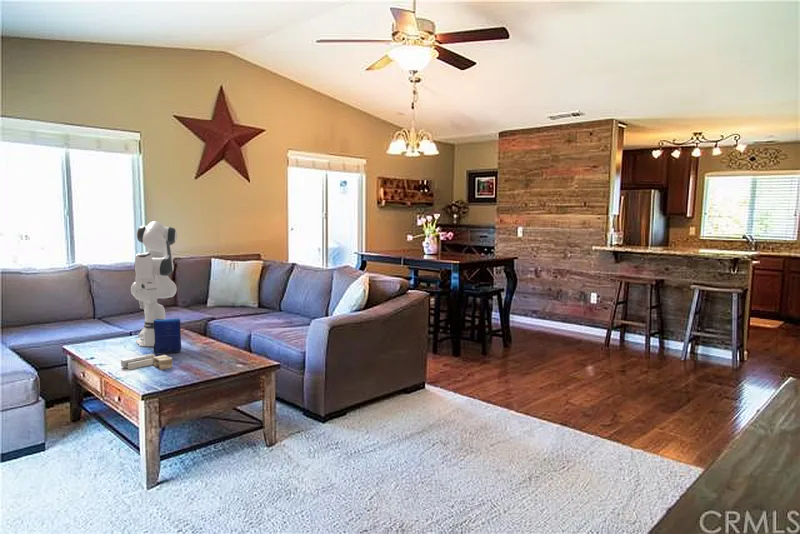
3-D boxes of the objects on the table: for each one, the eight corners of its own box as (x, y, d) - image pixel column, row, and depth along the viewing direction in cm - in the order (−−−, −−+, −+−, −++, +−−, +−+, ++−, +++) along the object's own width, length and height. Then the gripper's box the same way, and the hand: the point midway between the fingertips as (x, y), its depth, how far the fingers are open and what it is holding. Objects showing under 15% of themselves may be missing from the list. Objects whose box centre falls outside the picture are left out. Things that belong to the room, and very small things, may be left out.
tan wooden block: (153, 366, 274) (153, 357, 274) (165, 363, 279) (164, 354, 278) (160, 369, 269) (160, 360, 268) (172, 367, 273) (172, 358, 272)
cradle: (122, 366, 274) (122, 360, 274) (146, 361, 283) (146, 355, 283) (128, 369, 269) (128, 363, 268) (152, 364, 278) (152, 358, 277)
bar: (121, 366, 271) (120, 359, 271) (152, 359, 283) (152, 353, 283) (123, 367, 269) (123, 360, 269) (155, 361, 281) (155, 354, 280)
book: (153, 355, 295) (151, 320, 293) (154, 352, 300) (153, 318, 298) (180, 353, 299) (179, 319, 296) (181, 351, 304) (180, 317, 301)
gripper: (130, 282, 279) (131, 307, 280) (146, 286, 265) (147, 313, 266) (143, 281, 283) (144, 306, 285) (159, 285, 270) (160, 311, 271)
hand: (146, 309), depth 275 cm, fingers open, 8 cm apart
